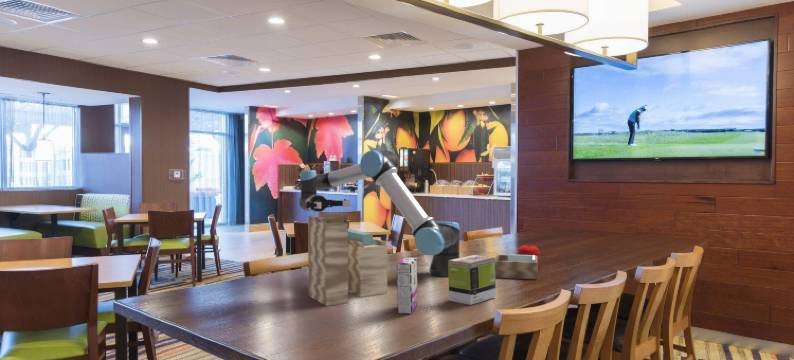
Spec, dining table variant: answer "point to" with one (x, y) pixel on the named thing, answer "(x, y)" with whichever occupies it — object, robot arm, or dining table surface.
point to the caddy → (515, 268)
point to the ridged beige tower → (367, 268)
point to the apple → (529, 250)
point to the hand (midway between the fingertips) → (335, 204)
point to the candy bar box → (407, 285)
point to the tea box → (472, 279)
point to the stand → (328, 258)
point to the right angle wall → (521, 258)
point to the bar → (360, 237)
